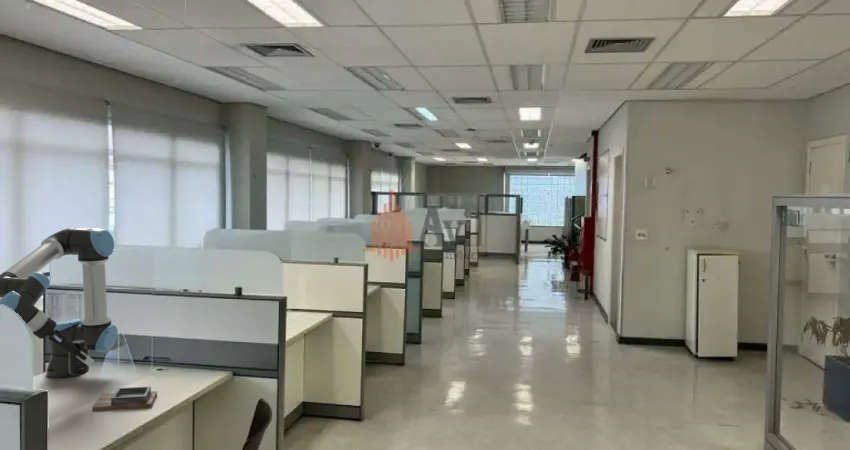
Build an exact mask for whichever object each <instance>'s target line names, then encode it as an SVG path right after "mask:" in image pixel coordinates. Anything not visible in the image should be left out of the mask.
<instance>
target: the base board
mask: <svg viewBox="0 0 850 450" xmlns="http://www.w3.org/2000/svg"><path fill="white" fill-rule="evenodd" d="M157 396H158V393H157V391H156V390H155V391H152V386H134V387H118V388H117V389H116V390H115V392H112V393H110V392H109V393H101V394H100V396H99V397H98V399H97V400H96V401H95V403H94V404H93V405H92V408H91V410H92V412H95V411H96V412H97V411H98V412H99V411H112V410H113V411H116V410H133V409H134V410H135V409H150V408H152V406H153V404H154V402H155V400H156V398H157Z"/></svg>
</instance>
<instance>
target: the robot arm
mask: <svg viewBox="0 0 850 450" xmlns="http://www.w3.org/2000/svg"><path fill="white" fill-rule="evenodd" d="M112 235H113V234H111V232H109V231H108V230H107V229H104V228H97V227H96V228H95V227H94V228H93V227H92V228H91V227H90V228H89V227H69V228H65V229H61V230H59V231H57V232H55V233H52V234H51V235H49V236H48V237H46V238H45V239H43V240H42V241H41V243H40V245H39V246H38V247H37V248H35V249H34V250H33V251H31V252H30V253H28V254H27V255H26V256H24V257H23V258H21V259H20V260H18V261H17V262H15V263H14V264H13V265H11V266H10V267H9V268H7V269H6V270H5V271H3V272H2V273H1V274H0V298H1V299H0V304H4V305H7V306H9V307H10V308H12V309H13V310H14V311H15V312H16V313H18V314H19V315H20V316H21V317H22V319H23V320H24V321H25V322H26V324H27V325H28V327H29V328H30V331H31V332H30V331H29V332H30V333H32V335H34V336H36V338H38V339H40V340H42V339H45V338H46V337H47V336H48V338H47V339H49V340H50V349H51V350H50V351H51V352H50V353H51V355H50V360H49V362H48V365H47V367H46V376H47V377H49V378H55V379H56V378H57V379H59V378H71V377H76V376H77V377H78V376H80V375H81V374H78V375H73V374H70V373H69V352H70V353H71V354H73V355H74V357H73V358H75V357H77V358H78V359H79V360H81V361H82V362H84V363H85V364H86V365H88V366H89V367H90V366H92V365H93V363H94V362H95V359H93V358H92V357H91V356H90V355H89V356H88V355H86V354H85V353H84V352H82V351H81V350H79V349H77V348H76V347H75V346H74V345H72V342H73V341H76V340H85V341H86V346H85V347H87V348H88V349H89V352H97V353H98V352H109V351H110V350H111V349H112V348H113V347H114V346H115V343H116V341H117V339H118V333H119V332H118V327H117V326H116V325H115V324H112V318H110V317H109V316H108V307H107V306H108V305H107V304H108V303H107V282H106V262H107V261H108V260H109V259H110V258H109V256H111V255H112V254H113V253H114V249H115V241H114V238H113V237H114V236H112ZM71 255H72V256H73V255H74V256H77V260H78V262H79V263H81V265H82V282H83V283H82V284H83V305H84V307H83V308H84V309H83V310H84V319H81V318H78V319H77V318H76V319H68V320H61V321H58V322H56V321H55V320H54V319H52V318H51V317H48V315H47V314H46V313H45V312H43V310H41V309H39V308H38V307H36V304H37V302H38V301H39V299H41V298H42V296H43V295H44V294H45V293H46V292H47V289H48V288H49V286H50V285H51V281H50V279H49V277H48V276H47V275H45V274H44V273H42V272H40V271H41V270H43V268H45V267H47V266H48V265H49V264H50V263H52V262H53V261H54V260H59V259H61V258H62V257H64V256H71Z"/></svg>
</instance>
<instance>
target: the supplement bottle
mask: <svg viewBox="0 0 850 450" xmlns="http://www.w3.org/2000/svg"><path fill="white" fill-rule="evenodd" d="M72 345H74V346H75V347H76V348H77V349H79V350H81V351H82V352H84V353H85V354H86V355H88V356H90V351H89V349H88V348H87V347H85V346H86V341H85V340H76V341H73V342H72ZM73 357H74V355H73V354H71V353H70V352H69V373H70V374H73V375H77V376H79V375H78V374H80V375H83V374H87V373H89V372H90V371H89V370H90V366H88V365H86V364H85V363H84V362H82V361H81V360H79V359H78V358H77V357H75V358H73Z"/></svg>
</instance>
